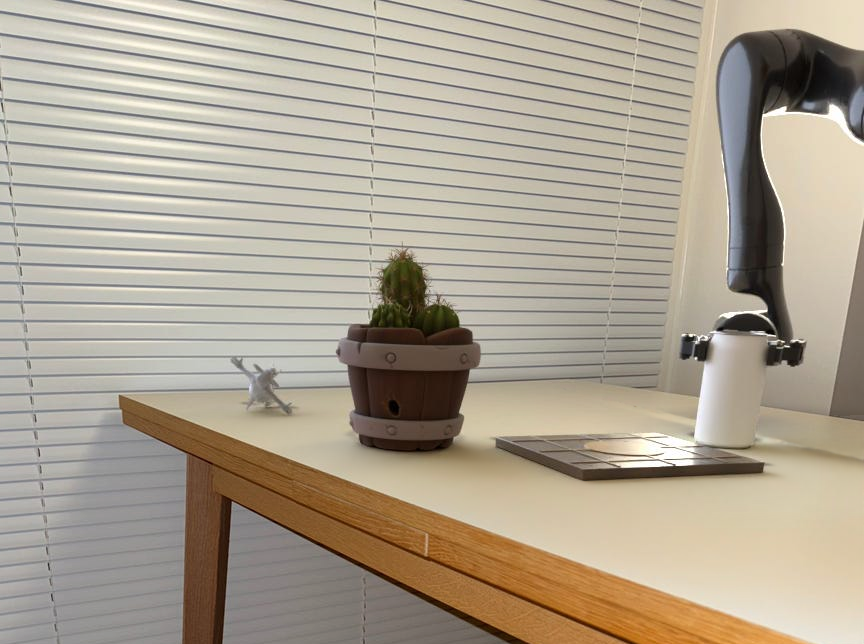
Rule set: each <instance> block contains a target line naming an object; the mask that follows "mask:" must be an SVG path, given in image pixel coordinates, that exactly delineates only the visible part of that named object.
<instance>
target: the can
mask: <svg viewBox="0 0 864 644" xmlns="http://www.w3.org/2000/svg"><path fill="white" fill-rule="evenodd" d="M713 333H714V336H713V338H712V340H711V341H710V343H709V344H708V347H707V352H706V359H705V362H704V365H703V373H702V379H701V385H700V386H701V387H700V393H699V399H698V405H697V407H698V408H697V414H696V419H695V420H696V421H695V428H694V436H693V440H694V441H695V443H696V444H699V445H703V446H707V447H710V448H716V449H717V448H718V449H731V450H738V449H740V450H741V449H748V448H751V446H752V445H754V443H755V439H756V434H757V430H758V429H757V428H758V422H759V416H760V411H761V404H762V399H763V393H764V387H765V380H766V374H767V369H768V367H767V366H766V363H767V357H768V351H769V346H768V342H767V336H768V334H766V333H757V332H740V331H714V332H713Z"/></svg>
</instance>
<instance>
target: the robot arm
mask: <svg viewBox="0 0 864 644" xmlns="http://www.w3.org/2000/svg"><path fill="white" fill-rule="evenodd" d="M715 104H716V105H715V106H716V114H717V115H716V116H717V124H718V131H719V142H720V150H721V159H722V166H723V174H724V182H725V183H724V184H725V191H726V199H727V202H726V203H727V251H726V255H727V256H726V287H727V290H728V291H730V292H731V293H733V294H738V295H745V296H749V297H750V296H751V297H755V298H757V299H760V300H761V301H762V302H763V303H764V305H765V308H766V310H754V311H751V310H750V311H743V312H742V311H737V312H728V313H723V314H721V315H720V316H719V317H718V318H717V319H716V321H715V322H714V324H713V326H712V330H711V331H710V332H708V333H707V336H706V335H700V336H697V334H691V332H684V333H682V334H681V338H680V344H679V346H680V347H679V352H678V359H681V360H682V361H687V360H690V358H691V357H692V358H694V359H693V360H694V361H697V362H703V363H705V359H706V352H707V347H708V344H709V343H710V341H711V340H712V338H713V336H714V333H713V332H714V331H740V332H757V333H766V334H768V336H767V342H768V346H769V351H768V357H767V363H766V366H767V368H772V367H778V366H781V365H782V362H783V361H786V365H787V366H789V367H790V368H795V367H799V366H800V365H802V364H803V363H804V359H805V354H806V349H807V343H808V340H805V339H804V338H798V339H795V340H794V330H793V324H792V320H791V317H790V312H789V310H788V305H787V301H786V294H785V286H784V261H785V259H784V258H785V257H784V256H785V243H786V242H785V241H786V223H785V221H786V220H785V216H784V215H785V214H784V210H783V206H782V203H781V200H780V197H779V196H778V194H777V191H776V189H775V186H774V184H773V182H772V178H771V177H770V173H769V171H768V169H767V166H766V162H765V157H764V151H763V143H762V142H763V141H762V140H763V139H762V133H763V132H762V130H763V129H762V128H763V119H764V117H770V116H778V115H787V114H789V115H790V114H799V115H802V114H803V115H809V116H810V115H812V116H815V117H816V116H818V117H823V118H827V119H830V120H833V121H835V122H837V123H838V125H840V127H841V128H842V130H843V131H844V132H845V133H846V135H847V136H848V137H850V139H852V140H853V141H854V142H856V143H857V144H860V146H861V145H862V146H864V49H863V50H861V49H856V48H851V47H848V46H845V45H843V44H840V43H837V42H834V41H831V40H829V39H827V38H824V37H821V36H819V35H817V34H814V33H811V32H808V31H806V30H802V29H797V28H778V29H767V30H766V29H765V30H755V31H748V32H743V33H740V34H738V35H736V36H735V37H734V38H732V39H731V40H730V41H729V42H728V43H727V45H726V46H725V47H724V49H723V50H722V52H721V54H720V57H719V59H718V63H717V66H716V73H715Z"/></svg>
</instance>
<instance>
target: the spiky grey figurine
mask: <svg viewBox="0 0 864 644" xmlns="http://www.w3.org/2000/svg"><path fill="white" fill-rule="evenodd" d="M229 360H230V363H231V364H233V365H234V367H236V369H238V370H239V371H241V372H242V373H243V374H244V375H245V376H246V377H247V378H248V380H249V382H250V383H249V387H248V395H249V396H250V399H249V401H248V402H247V404H246V408H245V409H246V410H248V409H249V408H250V407H251V406H252V405H253V403H254V402H257V403H263V406H264V407H270V406H271V405H272V404H273V403H274V402H275V403H276V404H277V405H278V406H279V407H280V409H281V411H283V412H284V413H286V414H287V415H291V414H293V413H294V409H292V408H291V407H290V406H291V405H292V404H293V402H289V403H285V402H284V401H283V400H282V399H281V398H280V397H279V396H278V395H277V394H276V393H275V388H277V389H278V388H280V384H279V383H278V382H277V380H275V379H276V378H277V377H278V376H279V374H280V373H281V372H282V369H280V370H279V371H277V368H276V367H274V366H275V362H272V363H271V365H270V366H269V368H267V369H262V367H260V366H259V365H258V364H257V363H255V362H254V363H252V366H253V368H254V369H255V370H256V372H257V373H258V374H257V375H256V374H255V373H253V372H252V371H250V370H249V369H247V368H246V366H245V365H244V364H243V360H244V356H241V358H240V359H238V358H237V357H236V356H235V355H233V356H231V357H230V359H229Z"/></svg>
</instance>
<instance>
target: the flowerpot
mask: <svg viewBox="0 0 864 644" xmlns="http://www.w3.org/2000/svg"><path fill="white" fill-rule="evenodd" d="M411 247H412V245H410V246H409V247H406V248H405V249H404V244H403V242H401V249H398V248H395V249H392V250H391V249H390V248H389V251H390V252H388V254H389V256H388V257H387V258H386V259H384V261H388V264H387V266H384V267H380V268H378V267H376V268H375V267H374V270H376V269H377V270H379V271H378V272H377V274H378V276H375V277H376V279H377V280H376V282H375V283H374V285H375V286H377V284H376V283H379V282H380V283H379V284H378V286H377V287H376V288H372V290H376V291H377V293H376V296H375V300H374V301H373V303H372V305H371V306H372V307H371V308H372V313H371V319H370V320H369V323H354V324H351V325H349V326H348V329H347V336H346V337H342V338H340V339H339V340H338V344H337V348H336V349H335V354H336V356H337V359H338V362H339V363H341V364H343V365H347V377H348V382H349V387H350V391H351V396H352V397H351V398H352V400H353V407H354V409H351V411H350V412H349V414H348V416H349V422H348V423H349V426H350V427H351V429H352V431H353V432H355V433H356V434H358V441H359V443H360V444H363V445H365V446H367V447H370V446H371V447H377V448H379V449H385V450H393V451H415V450H417V449H419V450H422V451H429V450H434V449H435V448H436V447H438V446H439V447H441V448H448V447H450V446H451V445H452V444H453V443H454V438H455V437H457V436H459V435H460V434H461V431H462V428H463V426H464V421H465V415H464V414H463V413H461V412H460V411H461V408H462V405H463V404H462V403H463V402H464V401H463V400H464V397H465V394H466V390H467V386H468V383H469V377H470V374H471V373H470V371H471V370H472V369H476V368H478V367H479V366H480V364H481V358H482V349H481V344H480V342H477V341H474V333H473V330H470V328H468V327H467V328H466V327H462V326H460V318H459V315H458V313H461V310H460V311H456V312H455V311H454V308H453V307H456V306H457V307H458V304H453V303H452V302H451V301H449V302H447V301H446V298H442V294H444V291H443V292H441V294H440V295H439V294H438V292H437V291H433V293H434V294H435V295H436V299H434V298H431V296H430V294H432V292H431V290H430V288H431V287H432V288H433V285H430V284H431V283H432V281H433V280H432V279H433V277H432V276H429V275H430V273H429V270H428V269H427V268H425V267H429V266H430V264H426V265H423V264H424V262H423V261H421V265H420V264H418V260H416V258H417V257H418V256H417V255H415V253H414V251H413V250H411V253H410V254H409V252H408V250H409V249H411ZM392 251H393V252H395V254H394V255H393V253H392ZM381 264H384V263H383V262H382V263H381ZM424 271H425V272H424ZM380 273H381V274H380ZM429 278H430V279H431V281H430V280H428V279H429ZM378 296H379V297H378ZM430 298H431V299H430ZM378 300H381V301H380V302H379V301H378ZM432 300H433V301H432ZM375 302H377V303H376V305H377V307H374V304H375Z"/></svg>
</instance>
